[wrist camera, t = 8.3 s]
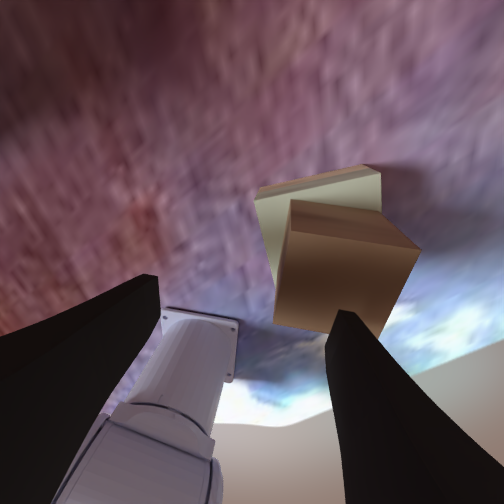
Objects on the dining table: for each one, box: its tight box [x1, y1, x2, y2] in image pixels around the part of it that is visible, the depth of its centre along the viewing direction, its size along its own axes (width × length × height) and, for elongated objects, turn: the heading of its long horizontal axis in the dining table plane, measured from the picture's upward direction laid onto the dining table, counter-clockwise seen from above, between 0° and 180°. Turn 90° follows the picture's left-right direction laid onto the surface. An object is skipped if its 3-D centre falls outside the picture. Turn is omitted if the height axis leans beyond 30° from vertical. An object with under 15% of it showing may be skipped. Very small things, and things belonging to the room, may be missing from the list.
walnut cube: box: [273, 199, 422, 339], centre depth 13 cm, size 5×5×5 cm
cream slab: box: [254, 164, 382, 288], centre depth 17 cm, size 7×7×4 cm
